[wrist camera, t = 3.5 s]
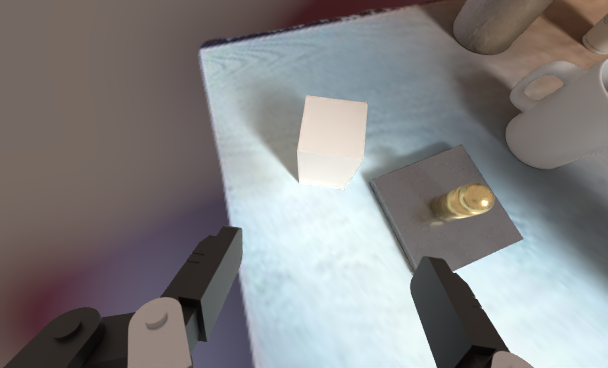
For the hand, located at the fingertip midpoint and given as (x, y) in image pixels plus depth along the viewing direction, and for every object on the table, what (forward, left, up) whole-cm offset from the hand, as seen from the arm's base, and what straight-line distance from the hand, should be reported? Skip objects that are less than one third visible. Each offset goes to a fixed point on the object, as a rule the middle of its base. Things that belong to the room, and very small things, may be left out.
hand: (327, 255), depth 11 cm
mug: (-34, -4, -19) cm, 39 cm away
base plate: (-17, +1, -18) cm, 25 cm away
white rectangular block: (-6, -10, -18) cm, 22 cm away
